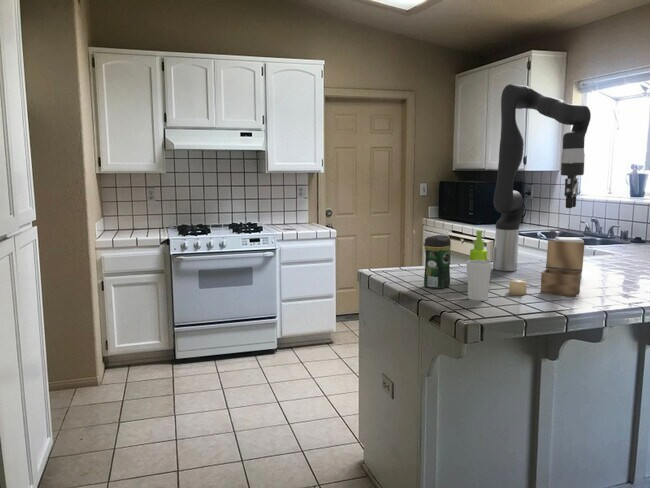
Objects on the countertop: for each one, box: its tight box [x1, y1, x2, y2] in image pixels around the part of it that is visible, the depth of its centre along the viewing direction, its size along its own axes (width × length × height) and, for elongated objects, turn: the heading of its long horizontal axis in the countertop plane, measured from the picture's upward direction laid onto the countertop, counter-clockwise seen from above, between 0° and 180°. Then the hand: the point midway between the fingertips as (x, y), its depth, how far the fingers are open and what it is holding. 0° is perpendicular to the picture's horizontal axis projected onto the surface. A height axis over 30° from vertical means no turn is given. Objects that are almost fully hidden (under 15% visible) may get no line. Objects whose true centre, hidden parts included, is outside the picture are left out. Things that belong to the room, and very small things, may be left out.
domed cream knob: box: [508, 279, 528, 296], centre depth 182 cm, size 6×6×4 cm
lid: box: [545, 240, 585, 273], centre depth 186 cm, size 12×10×1 cm
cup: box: [466, 259, 493, 302], centre depth 174 cm, size 8×8×12 cm
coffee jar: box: [423, 234, 452, 290], centre depth 191 cm, size 10×8×19 cm
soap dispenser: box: [469, 230, 488, 261], centre depth 192 cm, size 6×7×20 cm
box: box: [540, 268, 582, 298], centre depth 183 cm, size 11×9×7 cm
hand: (570, 207), depth 192 cm, fingers open, 8 cm apart
